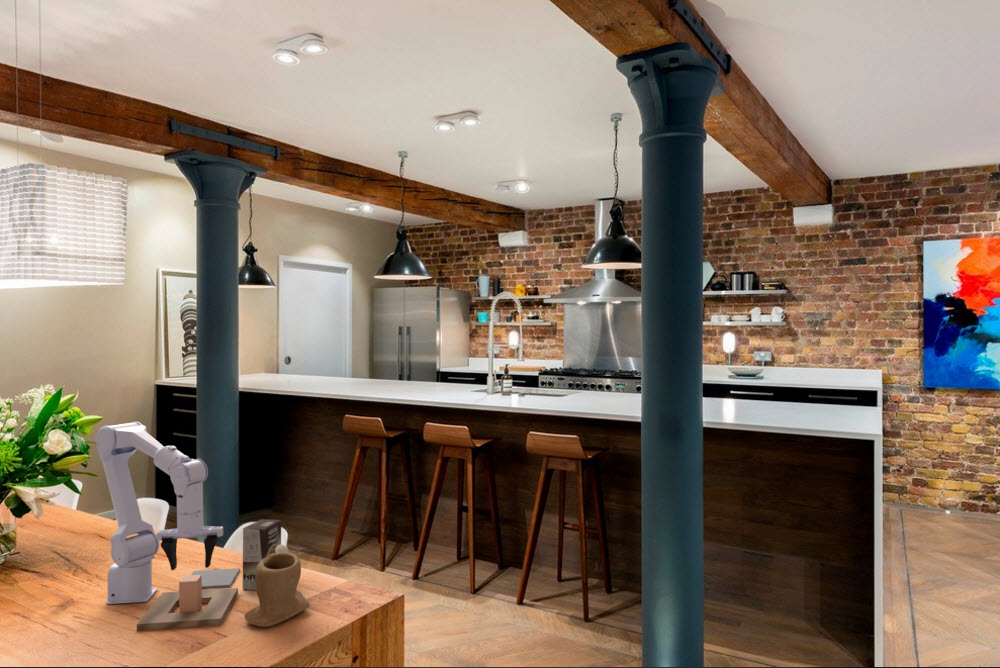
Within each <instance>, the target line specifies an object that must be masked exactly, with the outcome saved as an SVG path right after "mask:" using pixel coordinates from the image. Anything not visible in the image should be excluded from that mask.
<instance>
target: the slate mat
mask: <svg viewBox="0 0 1000 668" xmlns="http://www.w3.org/2000/svg"><path fill="white" fill-rule="evenodd" d="M240 571H241V568H239V567H238V568H222V569H219V568H218V569H202V570H194V571H193V572H192V573H191V575H202V588H205V589H223V588H231V586H232V584H233V583H234V581H235V579H236V578H237V576H238V574H239V573H240Z"/></svg>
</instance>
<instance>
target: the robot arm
mask: <svg viewBox="0 0 1000 668" xmlns="http://www.w3.org/2000/svg"><path fill="white" fill-rule="evenodd" d="M94 441H95V444H96V451H97V454H98V456H99V460H100V461H101V462H102V467H103V471H104V475H105V478H106V481H107V486H108V490H109V495H110V498H111V503H112V505H113V509H114V514H115V517H116V521H117V525H118V528H117V529H116V530H115V532H114V533H113V534H112V535H111V537H110V539H109V540H110V546H111V547H110V557H111V559H112V561H113V563H112V564H111V565H110V567H109V569H108V573H107V601H106V605H112V604H114V605H115V604H129V603H130V604H131V603H132V604H133V603H147V602H148V601H149V600H150V599H151V598H152V596H153V595H154V594H155V593H156V592H157V591H158V587H153V585H152V583H153V582H152V581H153V574H152V573H153V572H152V571H153V569H152V566H153V565H152V563H153V562H152V560H155V555H156V554H157V553H158V552H159V549H160V548H161V549H162V550H163V551H164V553H165V555H166V557H167V560H168V562H169V565H170V571H175V570H176V568H178V560H177V559H178V558H177V545H178V539H179V540H180V539H190V538H205V537H206V538H205V539H204V540H203V544H204V554H205V557H204V560H205V561H204V568H206V569H207V568H209V567H210V566H211V562H212V558H213V552H214V549H215V547H216V545H217V542H218V540H219V538H221V537H222V536H223V535H224V526H215V525H213V526H212V525H211V526H209V525H204V488H203V485H204V484H203V482H205V481H206V480H207V478H208V476H209V468H208V465H207V464H206V463H205V462H204V460H203V459H202V458H196V459H194V458H190V457H189V456H188V455H185V454H184V453H182V452H181V451H180V450H178V449H177V447H176V446H175V445H166V446H163V444H162V443H160V441H158V440H156V438H154V437H153V436H152V435H151V434H150V433H148V429H147V426H146V425H143V424H142V423H141V422H140V421H133V422H132V421H131V422H128V423H126V422H125V423H120V424H114V425H113V424H112V425H103V426H101V427H100V428H99V429H98V432H97V434H96V436H95V438H94ZM97 443H98V444H97ZM137 450H138V451H140V452H141V453H144V454H146V455H147V456H149V457H150V458H153V464H154V466H156V467H157V468H159V470H160V471H163V472H164V473H165V474H167V475H168V476H170V481H171V484H172V485H173V489H174V490H173V491H174V492H173V493H174V494H175V495H176V525H177V527H176V528H169V529H168V528H167V529H161V530H158V531H157V532H155V530H154V527H153V525H152V524H151V523H148V522H146V521H144V520H143V518H142V514H141V510H140V507H139V503H138V500H137V499H138V498H137V495H136V492H135V487H134V483H133V480H132V477H131V472H130V469H129V465H128V461H129V458H130V457H132V456H133V455H134V454H135V452H137ZM133 535H134V536H133ZM160 541H161V543H160Z"/></svg>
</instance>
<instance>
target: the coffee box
mask: <svg viewBox="0 0 1000 668" xmlns="http://www.w3.org/2000/svg"><path fill="white" fill-rule="evenodd" d="M278 545H282V519H281V520H280V519H265V518H264V519H259V520H256V521H255V522H253V523H251V524H249V525H247V526H245V527H243V528H242V589H243V590H250V591H256V587H255V573H256V568H257V565H258V563H259V562H260V561H261V560H263V559H264V558H266V557H267V556H269V555H271V554H273V553H276V552H275V549H276V547H277V546H278Z"/></svg>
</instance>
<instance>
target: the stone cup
mask: <svg viewBox="0 0 1000 668" xmlns="http://www.w3.org/2000/svg"><path fill="white" fill-rule="evenodd" d="M301 574H302V565H301V560H300V559H299V556H297V555H296V554H295V553H292V552H289V553H288V552H279V553H273V554H271V555H269V556H267V557H266V558H264V559H263V560H261V561H260V562H259V563H258V565H257V568H256V573H255V587H256V590H255V591H256V594H257V596H258V601H259V605H258V606H255V607H253V608H251V609H250V610H247V612H245V614H244V620H245V621H246V622H247V623H249V624H250V625H253V626H256V627H264V628H265V627H271V626H274V625H277V624H279V623H282V622H284V621H286V620H288V619H290V618H292V617H294V616H296V615H298V614H299V613H302V612H303V611H305V610H308V609H309V608H310V602H309V601H308V600H307V599H306V597H305V596H304V594H303V592H301V591H300V590H297V589H298V586H299V582H300V580H301Z"/></svg>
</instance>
